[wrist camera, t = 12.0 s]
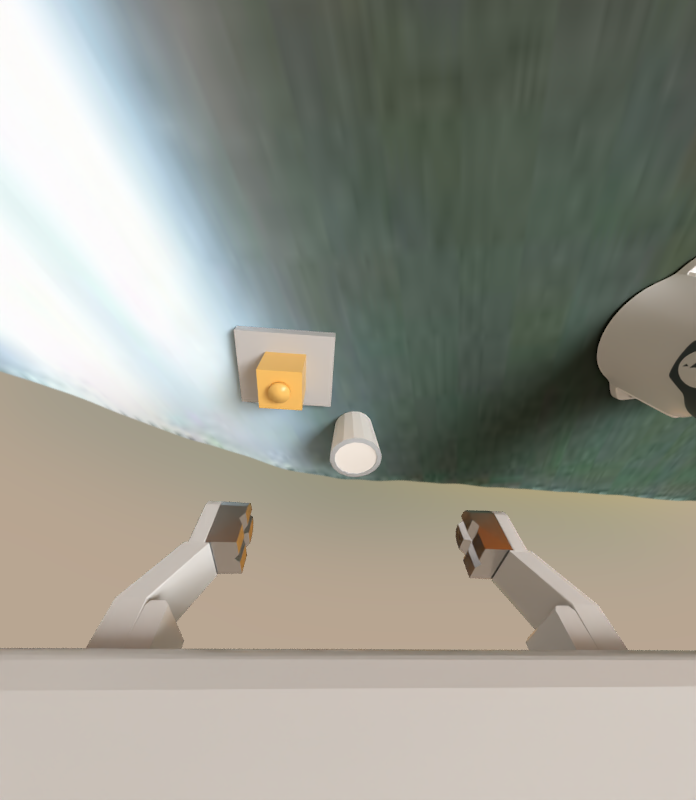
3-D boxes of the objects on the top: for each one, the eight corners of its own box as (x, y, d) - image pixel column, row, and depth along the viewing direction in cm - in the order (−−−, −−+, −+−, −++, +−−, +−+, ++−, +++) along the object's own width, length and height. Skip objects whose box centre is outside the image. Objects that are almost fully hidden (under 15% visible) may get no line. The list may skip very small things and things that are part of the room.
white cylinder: (322, 419, 45) (319, 450, 39) (364, 400, 43) (368, 430, 37) (343, 450, 48) (344, 484, 42) (383, 434, 47) (390, 466, 41)
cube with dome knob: (306, 354, 38) (301, 375, 33) (305, 389, 40) (301, 413, 35) (265, 351, 37) (254, 372, 32) (267, 387, 40) (257, 411, 35)
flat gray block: (335, 332, 38) (334, 348, 34) (330, 400, 43) (329, 421, 39) (237, 325, 37) (224, 340, 33) (244, 395, 42) (234, 416, 38)
